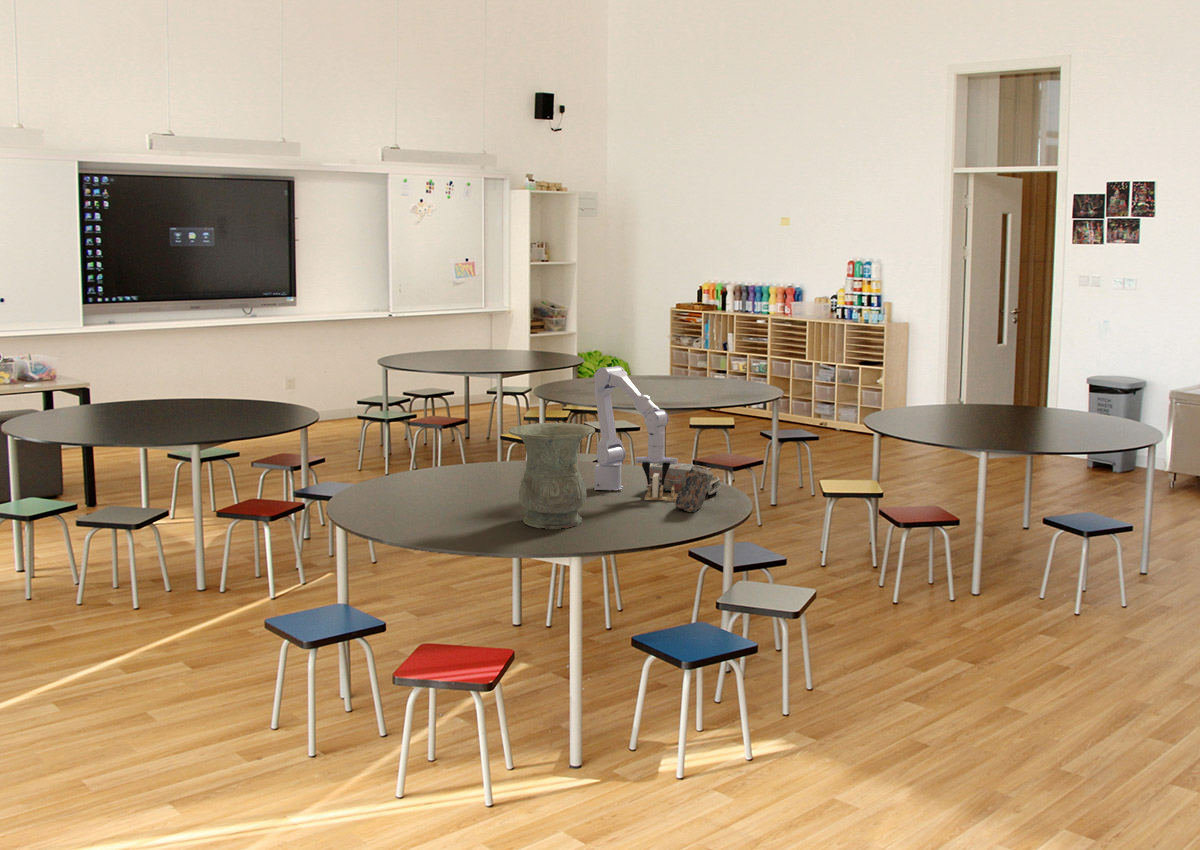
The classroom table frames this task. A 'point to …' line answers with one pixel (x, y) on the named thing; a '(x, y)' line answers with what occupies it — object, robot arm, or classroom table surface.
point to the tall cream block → (655, 485)
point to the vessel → (552, 474)
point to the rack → (662, 494)
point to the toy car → (679, 477)
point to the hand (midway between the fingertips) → (655, 484)
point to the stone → (694, 489)
